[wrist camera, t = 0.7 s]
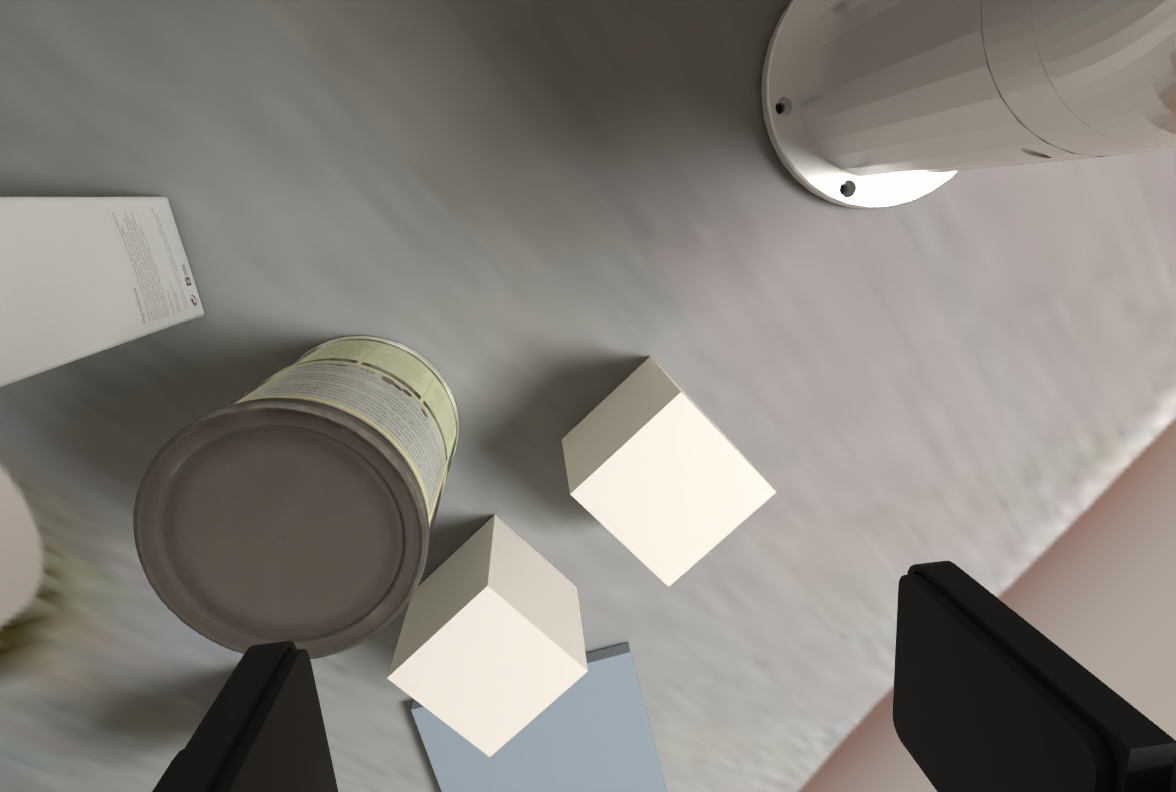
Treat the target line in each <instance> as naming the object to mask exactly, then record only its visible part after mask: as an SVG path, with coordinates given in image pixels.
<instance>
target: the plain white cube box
mask: <svg viewBox="0 0 1176 792" xmlns="http://www.w3.org/2000/svg"><path fill="white" fill-rule="evenodd" d="M562 446H563V452H564V459H565V465H566V471H567V478H568V484H569V491H570V495H571V496H572V497H574V498H575V499H576V500H577V501H578V502H579V503H580V504H581V505H582V506H583V507H584V508H585V509H586V510H587V511H588V512H590V513H591V514H592V515H593V516H594V517H595V518H596V519H597V520H598V521H599V522H600V523H601V524H602V525H603V526H604V527H605V528H607V529H608V530H609V531H610V532H611V533H612V534H613V535H614V536H615V537H616V538H617V539H618V540H619V541H620V542H621V543H623V544H624V545H625V546H626V547H627V548H628V549H629V550H630V551H631V552H632V553H633V554H634V555H635V556H636V557H637V558H639V559H640V560H641V561H642V562H643V563H644V564H645V565H646V566H647V567H648V568H649V569H650V570H651V571H652V572H653V573H655V574H656V575H657V576H658V577H659V578H660V579H661V580H662V581H663V582H664V583H665V584H666V585H667V586H668V587H669V586H670V585H671V584H672V583H674V582H675V581H676V580H677V579H678V578H679V577H680V576H682V575H683V574H684V573H685V572H686V571H687V570H688V569H690V568H691V567H692V566H693V565H694V564H695V563H696V562H697V561H699V560H700V559H701V558H702V557H703V556H704V555H705V554H707V553H708V552H709V551H710V550H711V549H712V548H713V547H715V546H716V545H717V544H718V543H719V542H720V541H721V540H722V539H724V538H725V537H726V536H727V535H728V534H729V533H730V532H732V531H733V530H734V529H735V528H736V527H737V526H738V525H739V524H741V523H742V522H743V521H744V520H745V519H746V518H747V517H749V516H750V515H751V514H752V513H753V512H754V511H755V510H757V509H758V508H759V507H760V506H761V505H762V504H763V503H764V502H766V501H767V500H768V499H769V498H770V497H771V496H772V495H774V494H775V493H776V491H775V490H774V489H773V488H772V487H771V486H770V485H769V483H768V482H767V481H766V480H765V479H764V478H763V477H762V476H761V474H760V473H759V472H758V471H757V470H756V469H755V468H754V467H753V466H752V464H751V463H750V462H749V461H748V460H747V459H746V458H745V457H744V455H743V454H742V453H741V452H740V451H739V450H738V449H737V448H736V447H735V445H734V444H733V443H732V442H731V441H730V440H729V439H728V438H727V437H726V436H725V435H724V433H723V432H722V431H721V430H720V429H719V428H718V427H717V426H716V425H715V424H714V423H713V422H712V421H711V420H710V419H709V418H708V417H707V416H706V415H705V413H704V412H703V411H702V410H701V409H700V408H699V407H698V406H697V405H696V404H695V403H694V402H693V401H692V400H691V399H690V398H689V397H688V396H687V394H686V393H685V392H684V391H683V390H682V389H681V388H680V387H679V386H678V385H677V384H676V383H675V382H674V381H673V380H672V379H671V378H670V377H669V376H668V374H667V373H666V372H665V371H664V370H663V369H662V368H661V367H660V366H659V365H658V364H657V363H656V362H655V361H654V360H653V359H652V358H651V357H649V358H648V359H647V360H646V361H645V362H643V363H642V364H641V365H640V366H639V367H638V368H637V369H636V370H635V371H634V372H633V373H632V374H631V375H630V376H629V377H628V378H626V379H625V380H624V381H623V382H622V383H621V384H620V385H619V386H618V387H617V388H616V389H615V390H614V391H613V392H612V393H610V394H609V395H608V396H607V397H606V398H605V399H604V400H603V401H602V402H601V403H600V404H599V405H598V406H597V407H596V408H594V409H593V410H592V411H591V412H590V413H589V414H588V415H587V416H586V417H585V418H584V419H583V420H582V421H581V422H580V423H579V424H577V425H576V426H575V427H574V428H573V429H572V430H571V431H570V432H569V433H568V434H567V435H566V436H565V437H564V438H563V439H562Z"/></svg>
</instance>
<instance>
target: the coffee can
mask: <svg viewBox="0 0 1176 792" xmlns="http://www.w3.org/2000/svg"><path fill="white" fill-rule="evenodd" d="M458 437H459V417H458V411H457V406H456V403H455V400H454V397H453V395H452V392H451V390H450V389H449V387H448V385H447V383H446V381H445V380H444V379H443V377H442V376H441V374H440V373H439V372H438V371H437V369H436V368H435V367H434V366H433V365H432V364H431V363H430V362H429V361H428V360H426V359H425V358H424V357H422V356H421V355H420V354H418V353H417V352H415V351H414V350H412V349H410V348H408V347H406V346H404V345H402V344H400V343H397V342H394V341H391V340H388V339H384V338H379V337H371V336H365V335H360V336H348V337H342V338H337V339H333V340H330V341H327V342H325V343H322V344H320V345H318V346H316V347H314V348H313V349H311V350H309V351H308V352H306V353H305V354H303V355H302V356H301V357H300V358H299V359H297V360H296V361H295V362H293V363H292V364H290V365H289V366H287V367H286V368H284V369H282V370H281V371H279V372H277V373H276V374H274V375H273V376H271V377H270V378H268V379H266V380H265V381H263V382H262V383H260V384H259V385H257V386H256V387H254V388H252V389H251V390H249V391H248V392H246V393H245V394H243V395H242V396H240V397H239V398H237V399H236V400H234V401H233V402H231V403H229V404H228V405H226V406H225V407H222V408H219V409H217V410H215V411H212V412H210V413H208V414H206V415H204V416H202V417H201V418H199V419H198V420H196V421H194V422H193V423H191V424H189V425H188V426H186V427H185V428H183V429H182V430H181V431H180V432H178V433H177V434H176V435H175V436H174V437H173V438H172V439H170V440H169V441H168V442H167V443H166V444H165V446H164V447H163V448H162V449H161V450H160V451H159V452H158V454H157V456H156V457H155V458H154V459H153V461H152V462H151V464H150V465H149V467H148V469H147V471H146V473H145V475H144V477H143V479H142V481H141V484H140V487H139V490H138V492H137V497H136V501H135V507H134V513H133V525H134V536H135V543H136V548H137V552H138V556H139V559H140V562H141V565H142V567H143V570H144V572H145V575H146V577H147V579H148V581H149V583H150V585H151V586H152V587H153V589H154V591H155V592H156V594H157V595H158V597H159V598H160V599H161V601H162V602H163V603H164V604H165V605H166V606H167V608H168V609H169V610H171V611H172V612H173V613H174V614H175V615H176V616H177V617H178V618H179V619H180V620H181V621H182V622H184V623H185V624H186V625H188V626H189V627H190V628H192V629H193V630H195V631H196V632H198V633H199V634H201V635H202V636H204V637H206V638H207V639H209V640H211V641H213V642H215V643H217V644H219V645H221V646H223V647H225V648H228V649H230V650H232V651H236V652H240V653H242V654H245V652H246V651H247V650H248V648H249V647H250V646H252V645H257V644H266V643H274V642H282V641H292V642H294V644H295V646H296V648H297V650H298V649H306V650H307V652H308V654H309V657H310V659H315V658H320V657H325V656H329V655H333V654H336V653H340V652H343V651H346V650H348V649H351V648H353V647H355V646H357V645H359V644H361V643H363V642H365V641H366V640H368V639H370V638H371V637H373V636H375V635H376V634H378V633H379V632H381V631H382V630H384V629H385V628H386V627H387V626H388V625H389V624H390V623H391V622H392V621H393V620H394V619H395V618H396V617H397V616H398V615H399V614H400V613H401V612H402V610H403V609H404V608H405V606H406V605H407V604H408V602H409V601H410V599H411V597H412V596H413V594H414V592H415V591H416V589H417V587H418V584H419V582H420V579H421V577H422V574H423V572H424V569H425V564H426V560H427V555H428V548H429V538H430V535H431V531H432V528H433V524H434V521H435V517H436V514H437V510H438V506H439V502H440V499H441V495H442V492H443V488H444V485H445V481H446V478H447V475H448V472H449V468H450V465H451V461H452V459H453V457H454V454H455V451H456V447H457V443H458Z"/></svg>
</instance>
